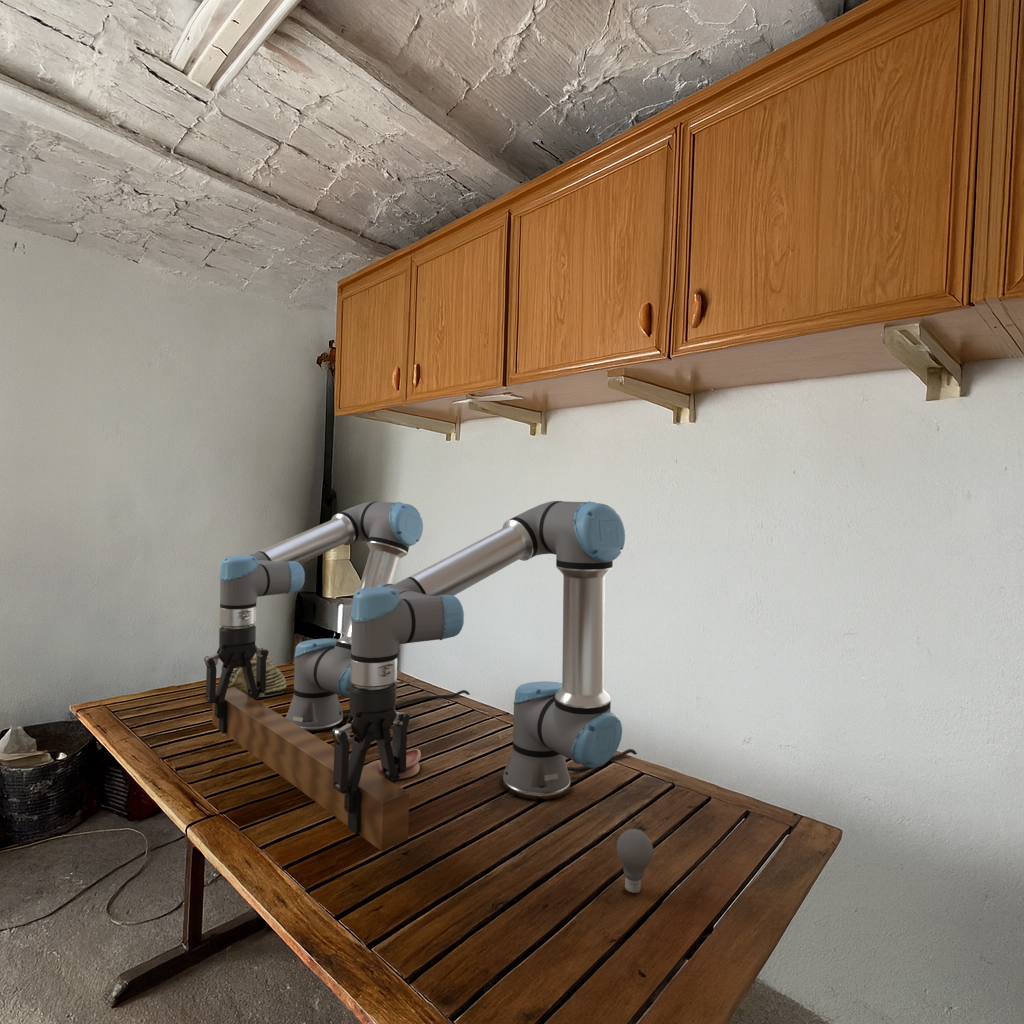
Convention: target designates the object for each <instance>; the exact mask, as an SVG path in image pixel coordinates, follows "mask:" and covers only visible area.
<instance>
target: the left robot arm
mask: <svg viewBox="0 0 1024 1024" xmlns="http://www.w3.org/2000/svg"><path fill="white" fill-rule="evenodd" d="M423 531H424V522H423V518H422V517H421V513H420V512H419V510H418V508H416V507H415V506H414V505H412V504H410V503H403V502H400V501H397V502H391V501H374V500H373V501H367V502H363V503H360V504H357V505H355V506H352V507H350V508H347V509H344V510H342V511H340V512H338V513H336V514H334V515H333V516H332V517H331V519H330V520H328V521H326V522H323V523H321V524H319V525H317V526H313V527H312V528H310V529H307V530H304V531H303V532H300V533H298V534H295V535H293V536H291V537H289V538H287V539H284V540H282V541H280V542H277V543H275V544H273V545H270V546H268V547H265V548H264V549H261V550H259V551H256V552H253V553H251V554H248V555H230V556H226V557H224V558H223V559H222V560H221V562H220V563H221V564H220V573H219V574H220V575H219V580H220V582H219V625H220V627H219V629H218V630H219V631H218V645H219V646H218V649H217V651H216V653H215V654H212V655H210V656H208V655H207V656H205V657H204V659H203V661H204V663H205V666H206V672H205V673H206V675H205V676H206V678H205V679H206V680H205V701H207V702H208V703H210V704H212V703H215V717H216V718H218V719H219V729H218V731H219V732H220V733H221V734H225V733H227V703H226V702H224V699H225V695H226V692H227V688H228V685H229V681H230V677H231V674H232V673H233V670H234V668H237V667H241V668H242V670H243V674H244V678H245V681H246V685H247V689H248V693H249V695H248V696H250V697H251V698H253V699H255V700H256V701H258V698H260V697H259V694H261V693H264V692H265V691H266V659H267V656H269V653H270V652H269V650H268V649H266V648H263V647H258V646H257V645H256V641H257V626H256V625H254V624H256V623H257V600H258V597H265V596H274V595H285V594H286V595H288V594H291V593H296V592H299V591H301V589H302V588H303V586H304V584H305V582H306V581H305V580H306V578H305V577H306V572H305V569H304V567H303V566H302V564H303V563H306V562H309V561H310V560H312V559H315V558H317V557H319V556H321V555H323V554H325V553H327V552H329V551H331V550H334V549H335V548H338V547H340V546H342V545H344V546H350V545H353V544H355V543H359V542H366V545H367V547H368V548H369V554H368V557H367V559H366V564H365V567H364V570H363V573H362V577H361V580H360V583H359V586H358V590H359V589H362V588H367V587H376V586H378V585H380V584H394V582H395V578H396V575H397V571H398V568H399V565H400V561H401V559H402V558H404V557H406V556H407V555H408V553H409V550H410V547H411V546H414V545H416V544H417V543H418V542H419V541H420V540H421V538H422V535H423ZM351 614H352V612H351V613H350V617H349V620H348V622H347V626H346V630H345V633H344V635H342V636H341V637H340V638H338V639H337V638H331V637H329V638H317V639H316V638H315V639H308V640H304V641H300V642H299V643H298V644H297V645H296V646H295V650H294V651H295V652H294V655H293V658H294V672H293V695H292V696H293V697H292V699H291V702H290V704H289V708H288V711H287V713H286V715H285V718H286V719H288V720H290V721H291V722H293V723H295V724H296V725H298V726H300V727H301V728H303V729H304V730H306V731H308V732H309V733H316V732H325V731H329V730H333V729H334V728H338V727H339V726H340V725H342V723H343V722H344V715H345V714H350V709H342V706H341V702H340V699H339V695H340V696H341V697H343V698H348V699H349V696H350V686H351V685H352V683H351V682H350V663H351ZM255 653H256V657H257V660H256V684H255V680H254V676H253V672H252V665H251V659H252V658H253V656H254V655H255ZM219 660H220V661H221V663H222V666H221V673H220V676H219V680H218V683H217V665H218V664H219ZM462 694H466V695H467V696H469V695H471V693H470V692H469V691H468V690H465V689H462V690H460V691H457V692H455V693H451V694H438V695H437V694H436V695H427V696H421V697H420V696H419V697H415V698H411V699H407V700H403V701H400V702H397V703H396V706H395V709H396V708H398V707H402V706H404V705H406V704H407V705H408V704H410V703H415V702H420V701H427V700H433V699H435V700H436V699H449V698H455V697H458V696H459V695H462Z"/></svg>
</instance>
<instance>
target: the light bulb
mask: <svg viewBox="0 0 1024 1024" xmlns="http://www.w3.org/2000/svg"><path fill="white" fill-rule="evenodd" d="M615 849H616V854H617V857H618V859H619V861H620V863H621V865H622V867H623V873H624V874H623V875H624V876H625V878H624V888H625V890H627V891H628V892H630V893H634V894H635V893H639V892H640V891H641V889H642V887H641V886H642V879H643V877H644V875H645V871H646V868H647V867H648V866H649V864H650V863H651V861H652V859H653V855H654V847H653V843H652V841H651V838H649V836H648V835H647V834H646V833H645V832H643V831H642V830H641V829H636V828H629V829H627V830H625V831H623V832H622V833H621V834H620V835H619V837H618V839H617V841H616V847H615Z"/></svg>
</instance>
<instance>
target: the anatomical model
mask: <svg viewBox="0 0 1024 1024" xmlns="http://www.w3.org/2000/svg"><path fill="white" fill-rule="evenodd" d="M421 756H422V754H421V750H420V749H419V748H412V749H408V750H406V771H405V772H404V773H400V774H398V775H399V776H400V778H399V780H403V779H407V778H410V777H413V776H415V775H417V774H418V773H419V771H420V768H421V766H420V763H419V762H420V760H421ZM364 766H366V767H368V768H369V769H371V770H373V771H374V772H376V773H378V774H379V775H381V776H383V777H385V775H384V774H383V771H382V766H381V761H380V759H377V760H373V761H371V762H369V763H367V764H364Z"/></svg>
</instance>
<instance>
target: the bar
mask: <svg viewBox="0 0 1024 1024" xmlns="http://www.w3.org/2000/svg"><path fill="white" fill-rule="evenodd" d="M224 702H226V703H227V733H224V734H225V735H226V736H227V737H229V738H230V739H231V740H232V741H234V742H235V743H237V745H239V746H240V747H242V748H243V749H244V750H245V751H247V752H248V753H250V754H251V755H252V756H254V757H255V758H256V759H258V760H259V761H260V762H262V763H263V764H265V765H266V766H267V767H269V768H270V769H271V770H272V771H274V772H275V773H276V774H278V775H279V776H281V777H282V778H283V779H284V780H286V781H287V782H288V783H290V784H291V785H292V786H294V787H295V788H297V789H298V790H299V791H300V792H302V793H303V794H305V795H306V796H307V797H308V798H310V799H311V800H313V801H314V802H315V803H316V804H317V805H319V806H320V807H322V808H323V809H325V810H326V811H327V812H329V814H331V815H333V817H335V818H336V819H338V820H339V821H341V822H342V823H343V824H345V825H346V826H347V827H348V812H347V811H345V809H344V794H345V793H344V794H342V793H341V792H339V791H338V790H336V789H335V788H334V787H333V774H334V749H335V746H333V745H331V744H330V743H327V742H326V741H325V740H323V739H321V738H320V737H318V736H316V735H314V734H313V733H312V732H308V731H306V730H304V729H303V728H301V727H300V726H298V725H296V724H295V723H293V722H291V721H290V720H288V719H286V716H285V717H284V716H283V715H282V714H280V713H278V712H277V711H275V710H273V709H271V708H270V707H268V706H266V705H265V704H263V703H261V702H260V701H258V700H257V701H256V700H255V699H253V698H251V697H250V696H248V695H246V694H245V693H243V692H241V691H240V690H238V689H236V688H235V687H233V688H228V689H227V692H226V695H225V699H224ZM211 704H212V706H211V707H212V709H211V725H213V726H214V727H215V728H216V729H218V730H219V719H218V718H216V717H215V703H211ZM349 759H350V756H349ZM358 790H359V791H360V792H362V801H361V833H358V834H357V835H359V836H361V838H363V839H365V840H366V842H368V843H370V844H371V845H373V847H375V848H377V849H378V850H379V851H380V852H383V851H386V850H388V849H390V848H392V847H395V846H397V845H399V844H401V843H404V842H406V841H409V821H410V820H409V816H410V813H409V812H410V792H409V791H407V790H406V789H404V788H403V787H401V786H399V785H397V784H396V783H395V784H394V783H392V782H391V781H389V780H387V779H386V778H384V777H382V776H381V775H379V774H378V773H376V772H374V771H373V770H371V769H369V768H368V767H366V766H365V764H364V765H363V769H362V773H361V778H360V782H359V786H358Z"/></svg>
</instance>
